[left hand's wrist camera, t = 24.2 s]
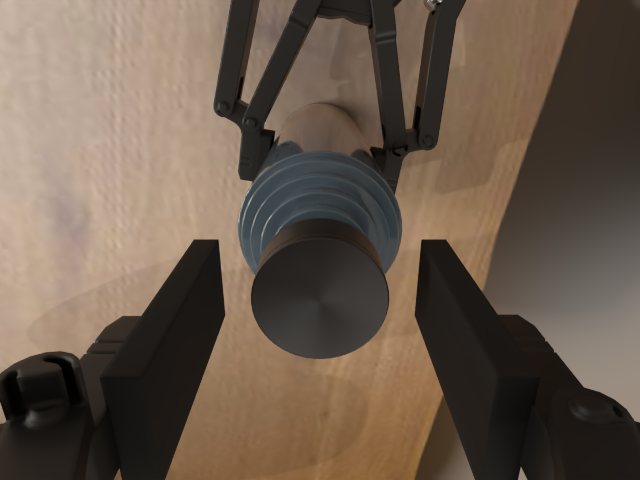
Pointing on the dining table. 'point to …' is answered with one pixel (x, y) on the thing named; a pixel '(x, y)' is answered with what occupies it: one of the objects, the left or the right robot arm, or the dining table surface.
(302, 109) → the bottle
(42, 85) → the dining table surface
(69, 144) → the dining table surface
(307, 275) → the cap
